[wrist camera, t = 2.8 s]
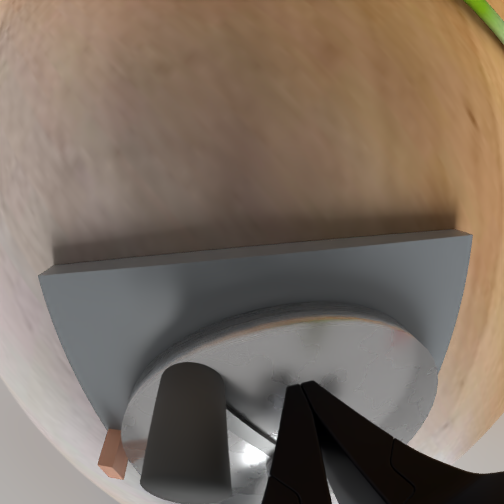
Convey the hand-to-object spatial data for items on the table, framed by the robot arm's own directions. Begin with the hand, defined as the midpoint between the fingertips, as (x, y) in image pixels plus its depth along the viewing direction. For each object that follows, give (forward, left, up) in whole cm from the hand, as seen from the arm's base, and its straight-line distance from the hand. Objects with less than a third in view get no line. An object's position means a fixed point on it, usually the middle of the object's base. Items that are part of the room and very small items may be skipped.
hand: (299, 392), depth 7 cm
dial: (-8, 0, -4) cm, 9 cm away
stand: (-8, -1, -6) cm, 10 cm away
